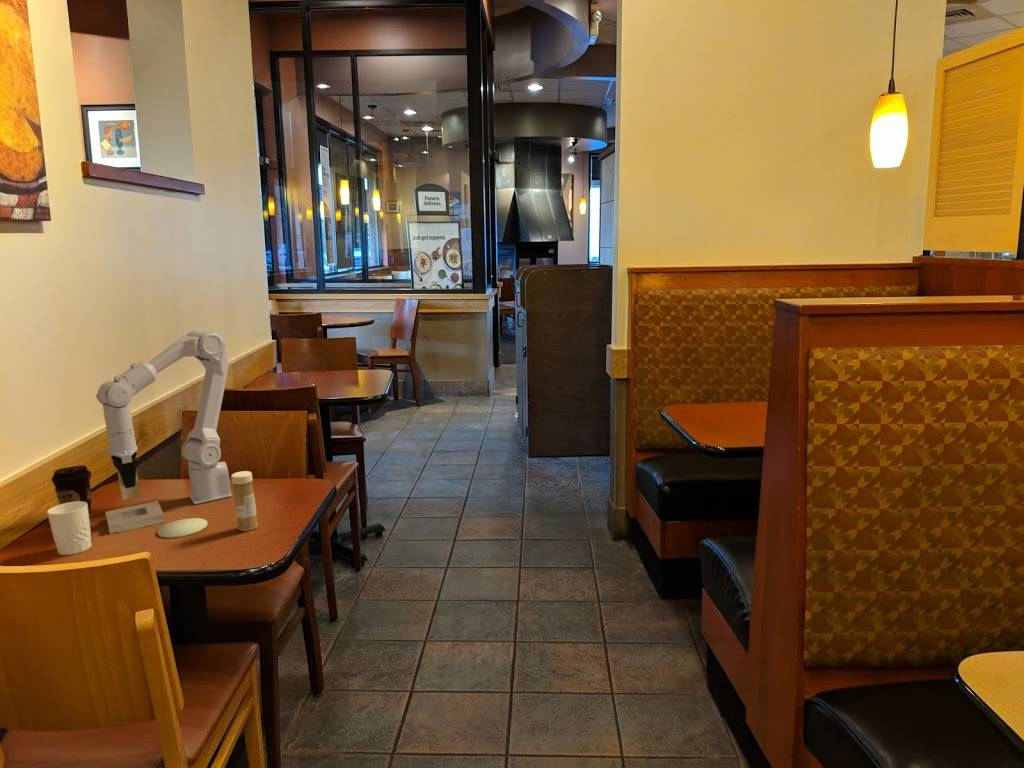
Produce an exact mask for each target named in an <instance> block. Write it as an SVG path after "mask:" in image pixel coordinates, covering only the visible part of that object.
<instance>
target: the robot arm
mask: <svg viewBox="0 0 1024 768" xmlns="http://www.w3.org/2000/svg"><path fill="white" fill-rule="evenodd" d="M226 346H227V343H226V342H225V340H224V339H223V338H222V337H221V336H220V335H219V334H218V333H217V332H212V331H210V332H206V331H199V330H191V331H189V332H187V333H186V334H185V335H183V336H180V337H179V338H178V339H177V340H176V341H174V342H173V343H172V344H171V345H169V346H168V347H167V348H165V349H163V351H162V352H160V353H159V354H157V355H156V356H154V357H153V358H152V359H151V360H149V361H148V362H140V361H139V362H138V363H137V362H133V363H132V364H129V367H130V368H128V369H127V370H125V371H124V372H123V373H121V374H120V375H117V374H116V375H114V377H113V381H111V380H110V381H106V382H103V383H102V384H101V385H100V386H99V388H98V389H97V394H96V400H97V401H98V402H99V403H100V404H102V409H103V416H104V417H103V418H104V422H105V423H104V424H105V429H106V433H107V435H106V436H107V440H108V444H109V445H108V446H109V449H107V450H104V454H105V455H106V456H108V455H111V456H110V457H111V460H112V464H113V466H114V467H115V468H116V471H117V470H118V471H119V473H120V475H121V478H122V481H123V483H124V486H125V488H130V487H135V483H136V469H137V468H138V465H139V462H140V458H139V457H137V454H138V453H137V451H138V445H137V443H136V442H137V441H136V436H135V435H136V434H135V430H134V425H133V418H132V412H131V407H130V403H131V401H132V400H133V397H135V395H137V394H138V393H140V392H142V390H144V389H145V388H147V387H148V386H150V385H152V384H153V383H154V382H155V381H156V380H157V374H158V373H160V372H162V371H163V370H165V369H166V368H168V367H169V366H171V365H173V364H174V363H176V362H177V361H179V360H181V359H183V358H184V357H194V358H196V359H197V360H199V363H201V364H202V366H203V367H204V368H205V372H204V373H205V374H204V377H203V382H202V383H203V384H202V388H201V393H200V398H199V403H198V408H197V413H196V416H195V417H196V418H195V422H194V427H193V429H191V430H190V431H189V432H188V435H187V438H186V440H185V442H184V443H183V444H182V447H181V456H182V457H183V459H184V460H185V461H187V467H188V473H189V474H188V475H189V481H190V486H191V494H189V498H190V500H191V502H192V503H193V505H198V504H202V503H207V502H211V501H216V500H221V499H225V498H230V497H232V496H233V494H232V490H231V482H230V474H229V470H228V466H227V463H226V462H225V461H220V459H221V457H222V456H221V455H222V451H221V448H220V447H221V446H220V445H221V444H220V443H221V439H220V437H219V434H218V431H217V430H218V422H219V418H220V412H221V409H222V408H221V407H222V404H223V400H224V399H223V398H224V392H225V387H226V383H227V378H228V372H229V367H230V364H229V359H228V355H227V352H226V348H227V347H226ZM137 470H138V469H137Z"/></svg>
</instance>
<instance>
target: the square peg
mask: <svg viewBox="0 0 1024 768" xmlns="http://www.w3.org/2000/svg"><path fill="white" fill-rule="evenodd" d="M116 471H117V475H118V476H117V477H118V482H119V488H120V494H121V498H122V500H123V501H125V500H129V499H133V498H139V497H142V493H141V488H140V480H139V475H138V469H136V483H135V487H130V488H125V486H124V483H123V481H122V478H121V475H120V473H119V471H118V470H117V469H116Z"/></svg>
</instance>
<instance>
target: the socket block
mask: <svg viewBox="0 0 1024 768" xmlns="http://www.w3.org/2000/svg"><path fill="white" fill-rule="evenodd" d="M104 513H105V517H106V523H107V527H108V531H109V535H112V534H111V533H114V534H116V533H115V532H118V533H122V532H121V531H123V532H126V531H125V530H127V531H130V530H135V529H139V528H140V529H141V528H144V526H145V527H148V525H149V526H153V524H154V525H157V523H158V524H162V523H161V522H163V523H165V522H166V521H165V515H164V512H163V510H162V507H161V505H160V503H159V501H158V500H154V501H150V502H145V503H141V504H137V505H131V506H127V507H122V508H116V509H113V510H108V511H105V512H104Z"/></svg>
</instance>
